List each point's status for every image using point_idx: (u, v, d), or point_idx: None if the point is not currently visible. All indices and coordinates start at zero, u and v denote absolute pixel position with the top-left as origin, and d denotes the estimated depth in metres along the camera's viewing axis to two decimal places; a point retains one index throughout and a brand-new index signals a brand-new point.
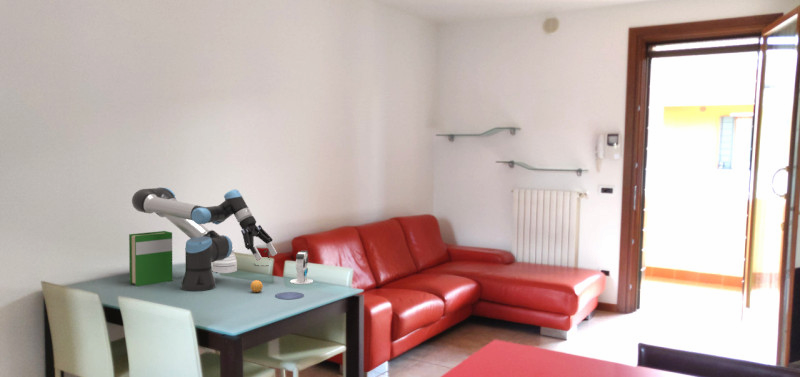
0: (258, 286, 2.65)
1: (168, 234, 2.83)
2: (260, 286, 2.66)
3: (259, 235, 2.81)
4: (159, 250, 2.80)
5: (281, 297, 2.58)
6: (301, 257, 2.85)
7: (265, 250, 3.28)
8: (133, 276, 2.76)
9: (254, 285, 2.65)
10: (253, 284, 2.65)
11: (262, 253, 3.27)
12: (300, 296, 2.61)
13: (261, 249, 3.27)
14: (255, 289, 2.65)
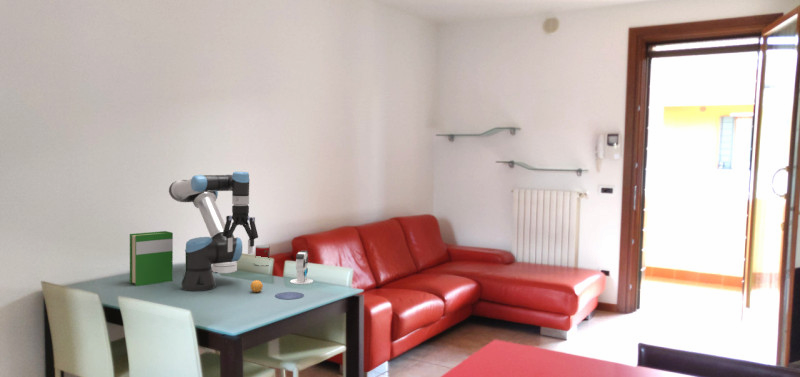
0: (258, 286, 2.65)
1: (168, 234, 2.83)
2: (260, 286, 2.66)
3: None
4: (159, 250, 2.80)
5: (281, 297, 2.58)
6: (301, 257, 2.85)
7: (265, 250, 3.28)
8: (133, 276, 2.76)
9: (254, 285, 2.65)
10: (253, 284, 2.65)
11: (262, 253, 3.27)
12: (300, 296, 2.61)
13: (261, 249, 3.27)
14: (255, 289, 2.65)
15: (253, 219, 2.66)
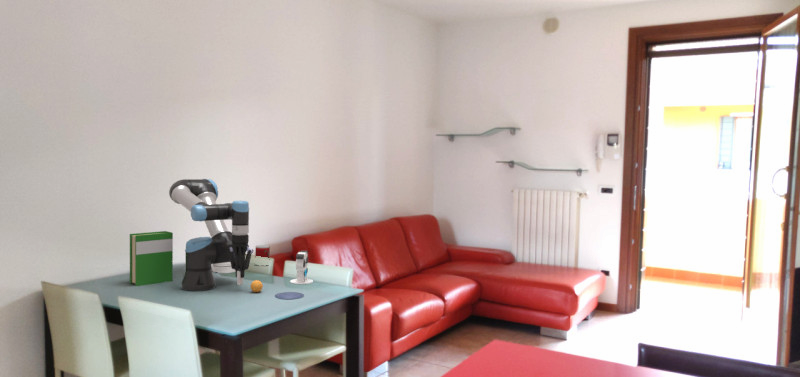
0: (258, 286, 2.65)
1: (168, 234, 2.83)
2: (260, 286, 2.66)
3: None
4: (159, 250, 2.80)
5: (281, 297, 2.58)
6: (301, 257, 2.85)
7: (265, 250, 3.28)
8: (133, 276, 2.76)
9: (254, 285, 2.65)
10: (253, 284, 2.65)
11: (262, 253, 3.27)
12: (300, 296, 2.61)
13: (261, 249, 3.27)
14: (255, 289, 2.65)
15: (251, 252, 2.67)
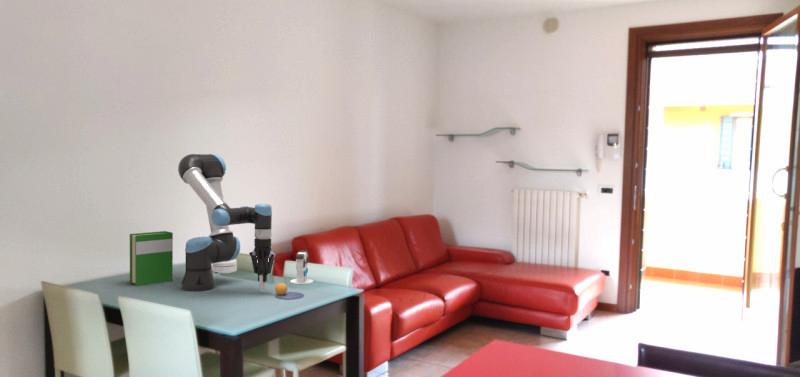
0: (278, 285, 2.62)
1: (168, 234, 2.83)
2: (279, 283, 2.63)
3: None
4: (159, 250, 2.80)
5: (281, 297, 2.58)
6: (301, 257, 2.85)
7: None
8: (133, 276, 2.76)
9: (276, 289, 2.61)
10: (276, 290, 2.61)
11: None
12: (300, 296, 2.61)
13: None
14: (280, 288, 2.61)
15: (274, 256, 2.64)
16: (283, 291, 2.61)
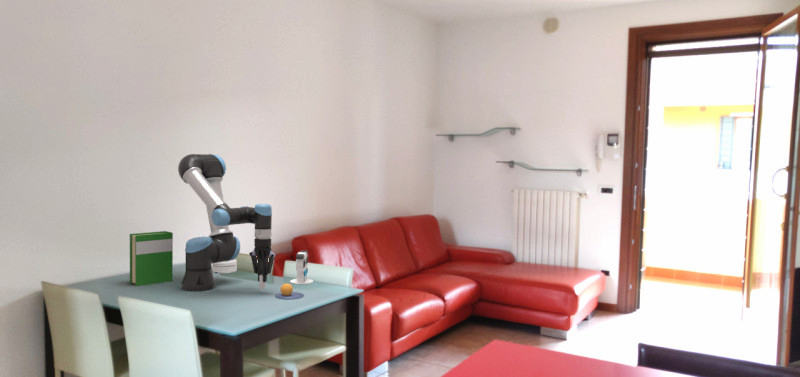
0: (287, 287, 2.60)
1: (168, 234, 2.83)
2: (289, 286, 2.61)
3: None
4: (159, 250, 2.80)
5: (281, 297, 2.58)
6: (301, 257, 2.85)
7: None
8: (133, 276, 2.76)
9: (283, 288, 2.60)
10: (282, 288, 2.60)
11: None
12: (300, 296, 2.61)
13: None
14: (286, 291, 2.60)
15: (274, 256, 2.64)
16: (286, 295, 2.61)
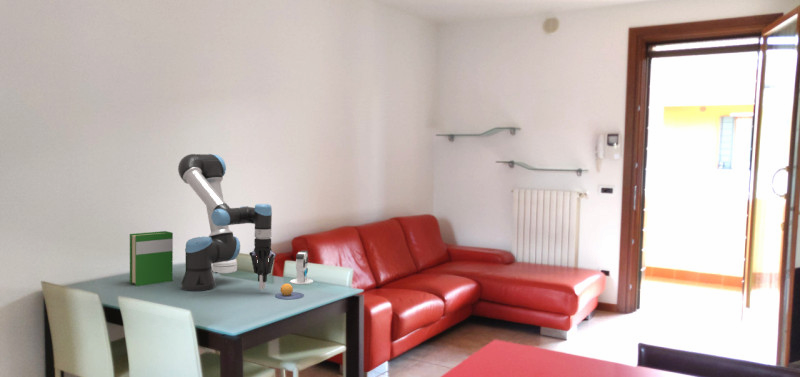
0: (287, 287, 2.60)
1: (168, 234, 2.83)
2: (289, 286, 2.61)
3: None
4: (159, 250, 2.80)
5: (281, 297, 2.58)
6: (301, 257, 2.85)
7: None
8: (133, 276, 2.76)
9: (283, 288, 2.60)
10: (282, 288, 2.60)
11: None
12: (300, 296, 2.61)
13: None
14: (286, 291, 2.60)
15: (274, 256, 2.64)
16: (286, 295, 2.61)
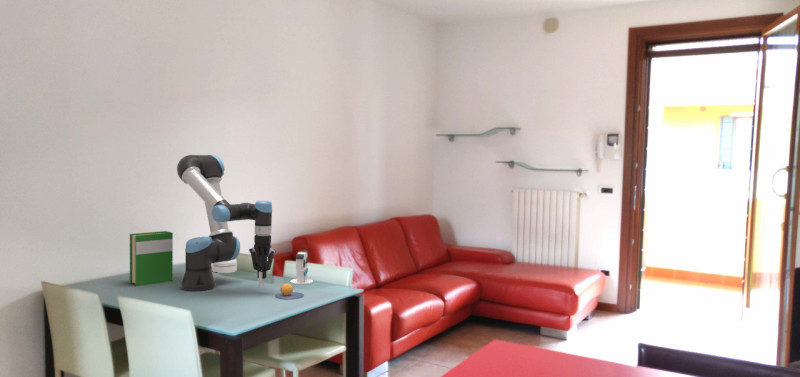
0: (287, 287, 2.60)
1: (168, 234, 2.83)
2: (289, 286, 2.61)
3: None
4: (159, 250, 2.80)
5: (281, 297, 2.58)
6: (301, 257, 2.85)
7: None
8: (133, 276, 2.76)
9: (283, 288, 2.60)
10: (282, 288, 2.60)
11: None
12: (300, 296, 2.61)
13: None
14: (286, 291, 2.60)
15: (274, 253, 2.64)
16: (286, 295, 2.61)
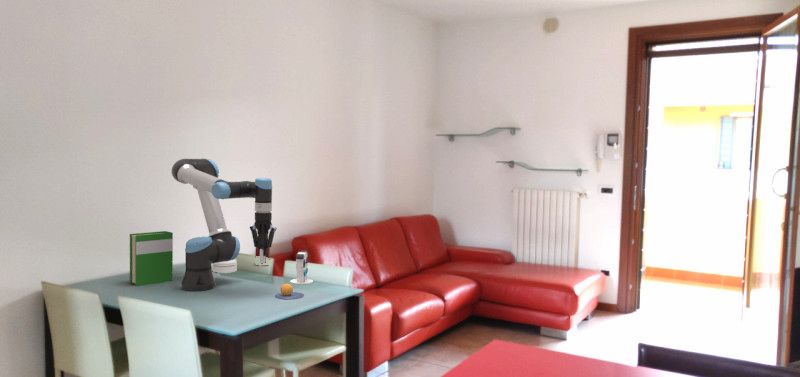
0: (287, 287, 2.60)
1: (168, 234, 2.83)
2: (289, 286, 2.61)
3: None
4: (159, 250, 2.80)
5: (281, 297, 2.58)
6: (301, 257, 2.85)
7: None
8: (133, 276, 2.76)
9: (283, 288, 2.60)
10: (282, 288, 2.60)
11: None
12: (300, 296, 2.61)
13: None
14: (286, 291, 2.60)
15: (274, 230, 2.63)
16: (286, 295, 2.61)
